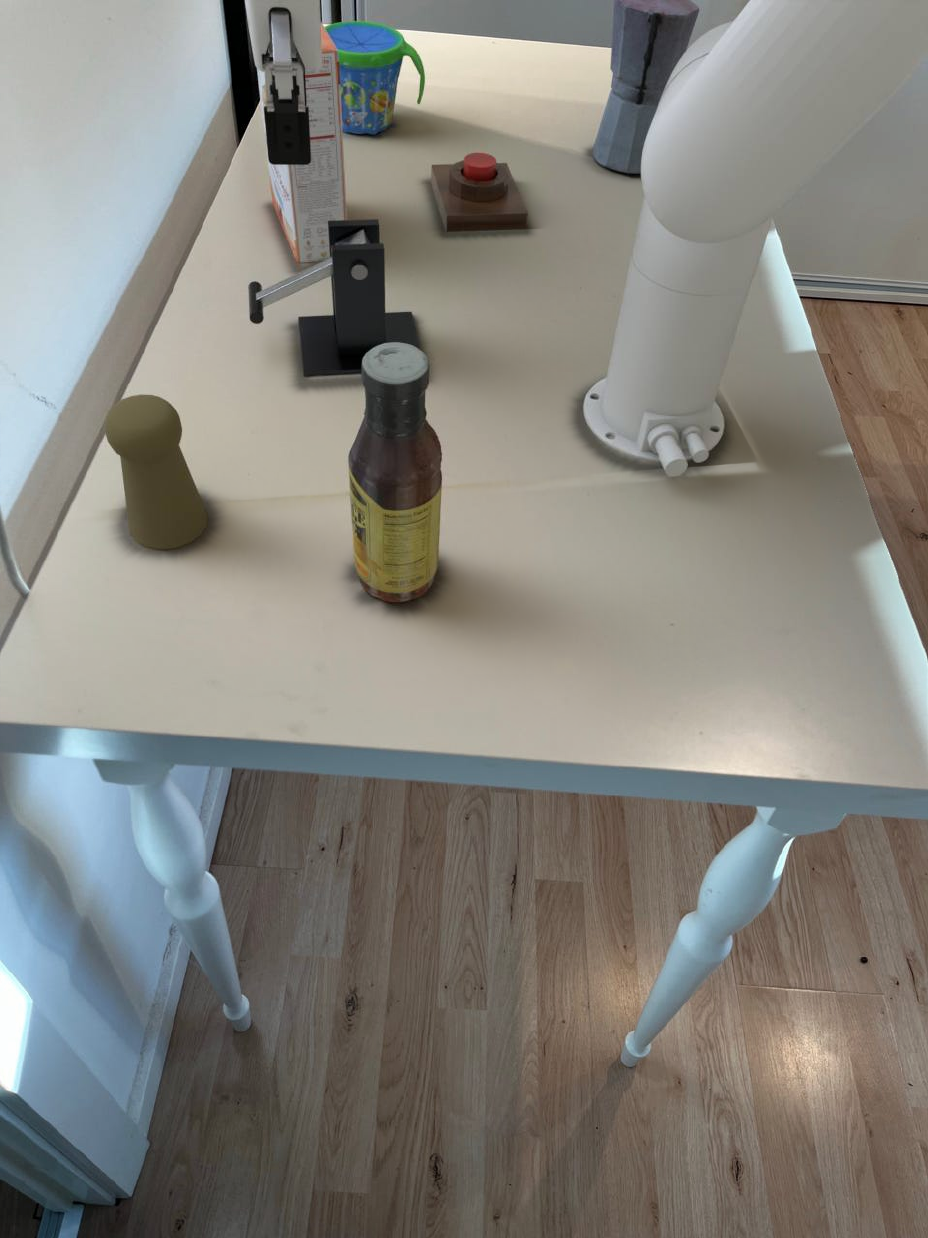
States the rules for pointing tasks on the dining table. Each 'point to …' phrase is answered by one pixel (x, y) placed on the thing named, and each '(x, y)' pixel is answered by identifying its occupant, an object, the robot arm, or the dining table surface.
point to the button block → (477, 200)
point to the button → (479, 167)
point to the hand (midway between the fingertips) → (288, 133)
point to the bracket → (353, 307)
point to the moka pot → (640, 74)
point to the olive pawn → (155, 473)
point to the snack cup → (370, 73)
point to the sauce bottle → (395, 477)
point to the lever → (294, 281)
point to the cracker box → (313, 164)
